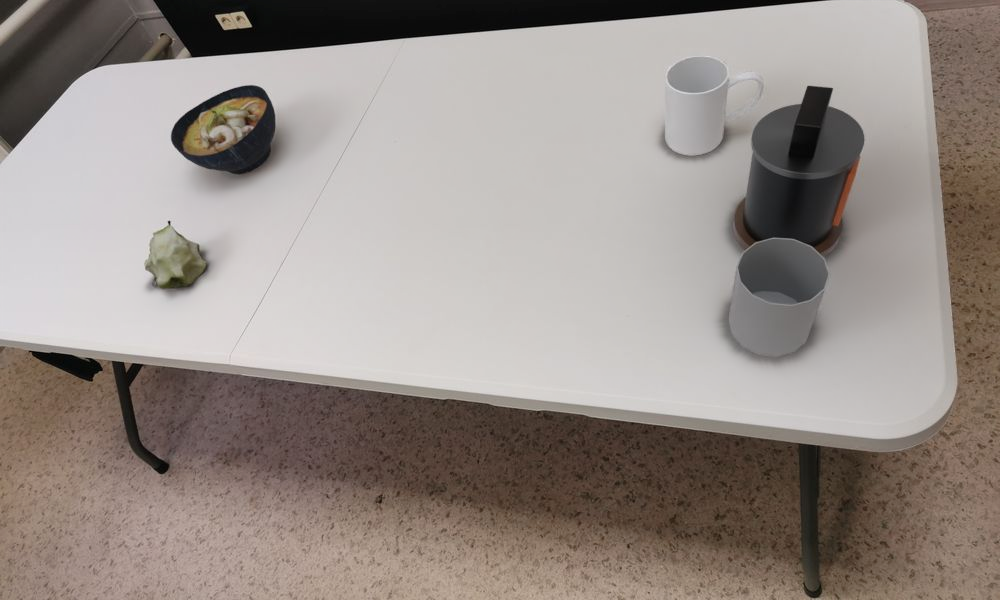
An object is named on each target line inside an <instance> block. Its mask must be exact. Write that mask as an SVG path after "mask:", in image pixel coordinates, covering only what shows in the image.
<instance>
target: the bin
mask: <svg viewBox="0 0 1000 600" xmlns="http://www.w3.org/2000/svg"><path fill="white" fill-rule="evenodd" d="M833 91H834V88H833V87H829V86H816V85H807V86H806V89H805V92H804V95H803V98H802V100H801V103H797V104H796V103H795V104H789V105H786V106H782V107H780V108H777V109H774V110H772V111H770V112H769V113H767V114H766V115H764V116H763V117H761V118H760V120H759V121H758V122H757V123H756V125H754V128H753V129H752V133H751V140H750V147H751V151H752V153H751V161H750V167H749V173H748V181H747V187H746V194H745V197H746V200H745V206H744V213H743V223H744V227H745V229H746V231H747V232H748V234H749V235H750V236H751V237H752V238H753V239H754V240H755V241H757V242H759V241H763V240H767V239H770V238H787V239H795V240H797V241H800V242H802V243H805V244H807V245H810V246H812V247H815V246H817V245H819V244H820V243H822V242H823V241H824V240H826V239H827V237H828V236H829V235H830V233H831V232H832V229H833V226H838V225H839V222H840V220H841V217H842V218H843V213H844V210H845V207H846V206H847V205H846V204H847V202H848V199H849V197H850V196H849V195H850V193H851V190H852V187H853V184H854V181H855V178H856V175H857V172H858V167H859V163H860V160H861V155H862V152H863V149H864V146H865V141H866V140H865V139H866V138H865V133H864V130H863V128H862V126H861V124H860V123H859V122H858V121H857V120H856V119H855V118H854V117H853V116H851V115H850V114H848V113H847V112H845V111H843V110H842V109H841V110H840V109H839V108H836V107H833V106H831V105H830V103H831V100H832V95H833Z"/></svg>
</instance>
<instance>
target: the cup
mask: <svg viewBox="0 0 1000 600" xmlns="http://www.w3.org/2000/svg"><path fill="white" fill-rule="evenodd" d="M830 276H831V273H830V270H829V267H828V264H827V261H826V258H825V257H823V256H821V255H820V254H819V253H818V252H817V251H816V250H815V249H814V248H813V247H812V246H810V245H807V244H805V243H802V242H800V241H797V240H795V239H787V238H770V239H767V240H763V241H759V242H756V243H754V244H753V245H752V246H750V247H749V248H748V249H746V250H745V251H744V250H743V252H741V255H740V257H739V259H738V262H737V264H736V267H735V274H734V279H733V287H732V293H731V294H732V295H731V300H730V307H729V313H728V319H727V320H728V325H729V330H730V334H731V336H732V337H733V338H734V340H735V341H736V342H737V343H738V344H739V345H740V347H741V348H743V349H746V350H748V351H749V352H751V353H752V354H755V355H757V356H764V357H772V358H778V357H782V356H787V355H790V354H791V355H792V354H795V352H797V351H798V350H799V349H800V348H801V347H802V346H804V345H805V344H806V343H807V341H808V338H809V335H810V332H811V330H812V327H813V324H814V322H815V319H816V316H817V313H818V311H819V309H820V308H819V307H820V305H821V302H822V300H823V297H824V294H825V291H826V288H827V285H828V282H829V279H830Z"/></svg>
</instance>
